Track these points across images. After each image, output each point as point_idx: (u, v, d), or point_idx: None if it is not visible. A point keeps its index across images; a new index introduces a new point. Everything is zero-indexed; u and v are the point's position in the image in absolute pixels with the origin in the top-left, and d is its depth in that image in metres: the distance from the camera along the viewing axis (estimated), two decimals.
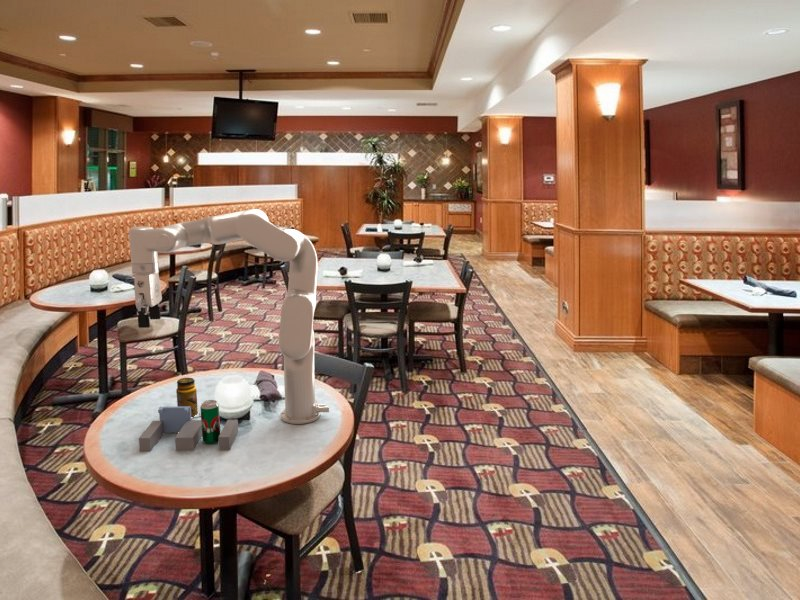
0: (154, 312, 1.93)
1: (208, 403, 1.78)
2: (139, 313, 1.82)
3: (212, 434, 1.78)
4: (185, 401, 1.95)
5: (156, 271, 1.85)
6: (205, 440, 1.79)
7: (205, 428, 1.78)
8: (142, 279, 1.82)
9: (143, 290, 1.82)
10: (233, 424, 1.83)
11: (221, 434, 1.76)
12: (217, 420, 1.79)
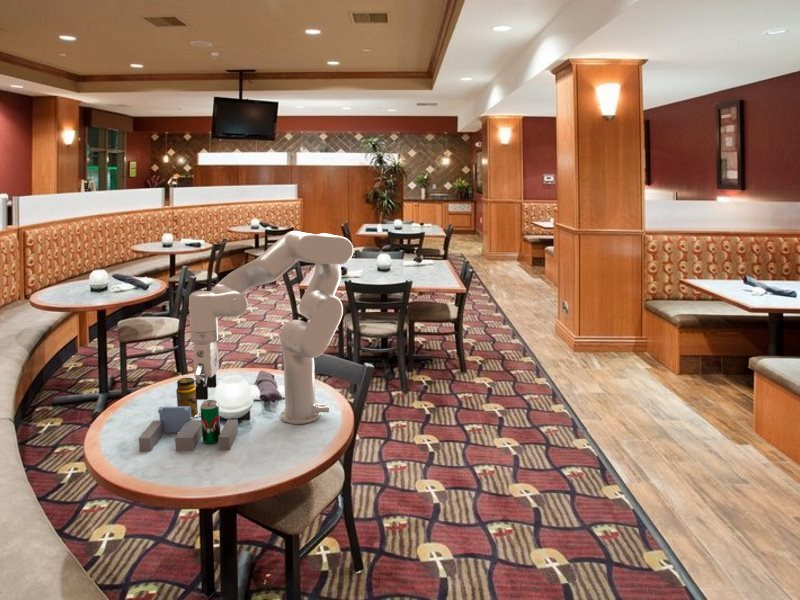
0: (210, 380, 1.81)
1: (208, 403, 1.78)
2: (198, 385, 1.70)
3: (212, 434, 1.78)
4: (185, 401, 1.95)
5: (216, 339, 1.73)
6: (205, 440, 1.79)
7: (205, 428, 1.78)
8: (202, 349, 1.70)
9: (203, 360, 1.70)
10: (233, 424, 1.83)
11: (221, 434, 1.76)
12: (217, 420, 1.79)
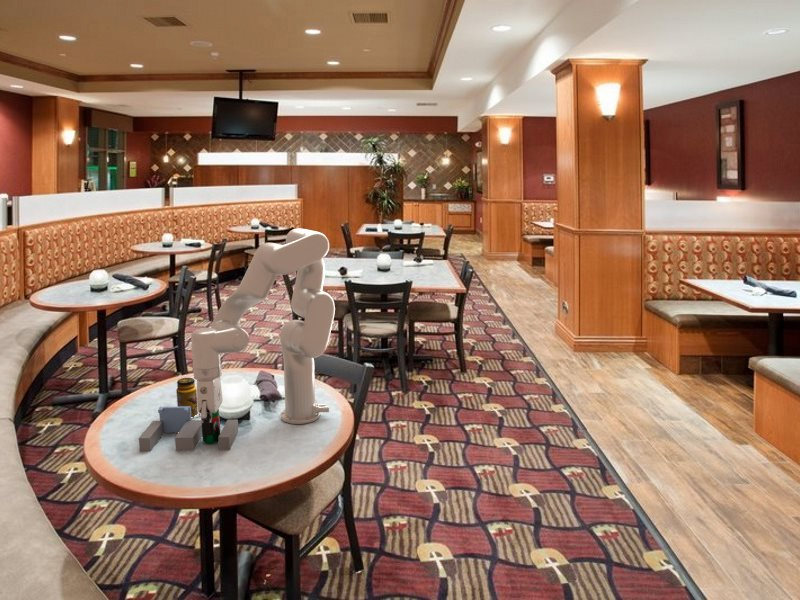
0: None
1: None
2: (204, 422, 1.75)
3: None
4: (186, 401, 1.95)
5: (219, 375, 1.76)
6: (205, 440, 1.79)
7: None
8: (205, 385, 1.72)
9: (206, 397, 1.73)
10: (233, 424, 1.83)
11: (221, 434, 1.76)
12: (217, 420, 1.79)
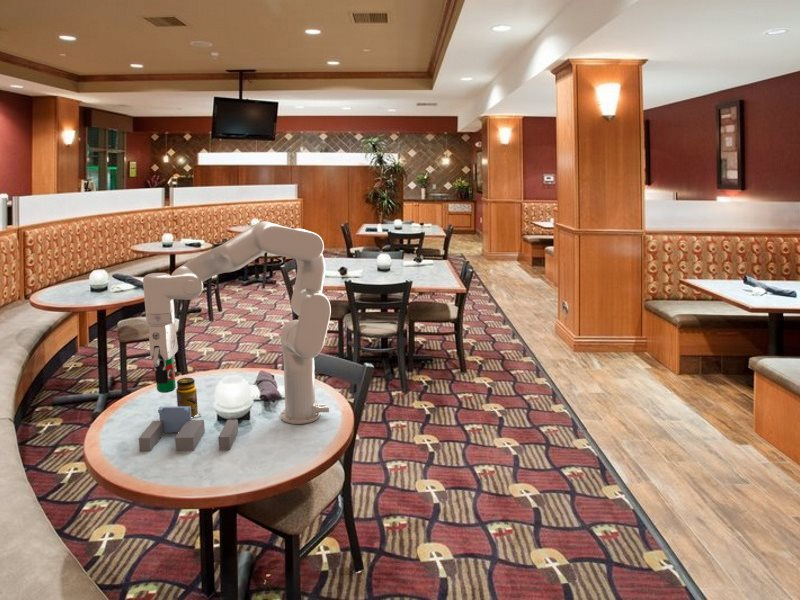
0: None
1: None
2: (157, 369, 1.71)
3: None
4: (185, 401, 1.95)
5: (172, 321, 1.72)
6: (159, 389, 1.75)
7: None
8: (157, 331, 1.68)
9: (159, 343, 1.69)
10: (233, 424, 1.83)
11: (221, 434, 1.76)
12: (171, 368, 1.75)
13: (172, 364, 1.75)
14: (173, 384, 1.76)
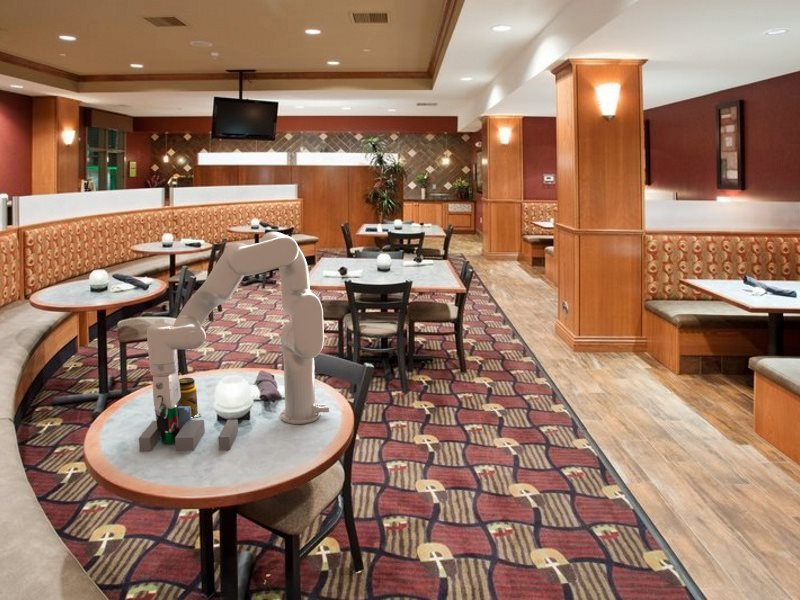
0: None
1: None
2: (158, 417, 1.72)
3: (170, 435, 1.78)
4: (185, 401, 1.95)
5: (175, 370, 1.75)
6: (163, 441, 1.78)
7: None
8: (161, 381, 1.71)
9: (162, 392, 1.72)
10: (233, 424, 1.83)
11: (221, 434, 1.76)
12: (175, 420, 1.78)
13: (176, 416, 1.78)
14: None
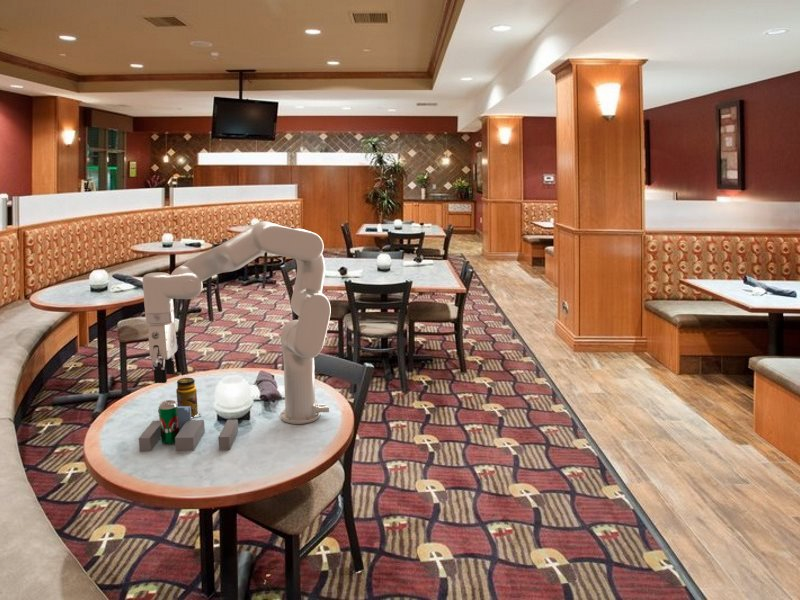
0: (168, 367, 1.79)
1: (166, 403, 1.77)
2: (155, 368, 1.70)
3: (170, 435, 1.78)
4: (185, 401, 1.95)
5: (172, 321, 1.72)
6: (163, 441, 1.78)
7: (163, 428, 1.77)
8: (157, 330, 1.68)
9: (158, 342, 1.69)
10: (233, 424, 1.83)
11: (221, 434, 1.76)
12: (175, 420, 1.78)
13: (176, 416, 1.78)
14: None
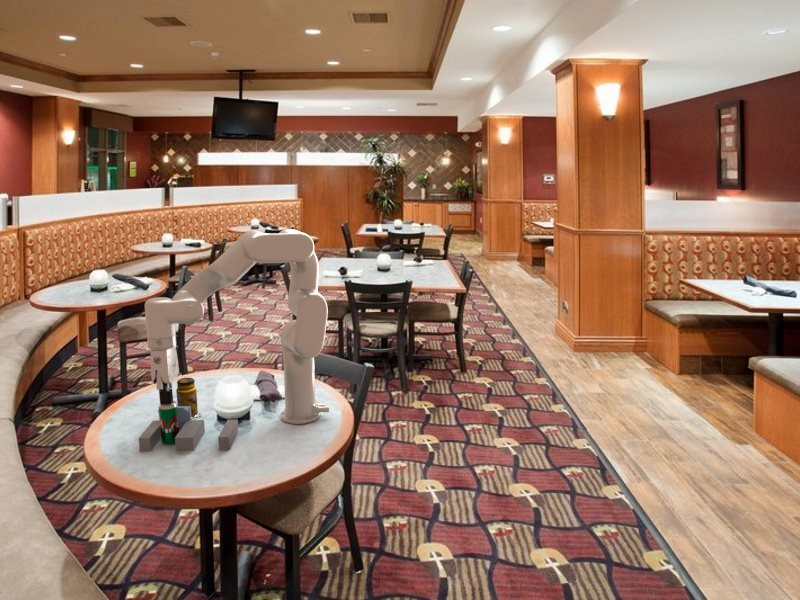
0: None
1: None
2: (161, 390, 1.75)
3: (170, 435, 1.78)
4: (185, 401, 1.95)
5: (173, 345, 1.73)
6: (163, 441, 1.78)
7: (163, 428, 1.77)
8: (159, 355, 1.70)
9: (160, 367, 1.70)
10: (233, 424, 1.83)
11: (221, 434, 1.76)
12: (175, 420, 1.78)
13: (176, 416, 1.78)
14: None
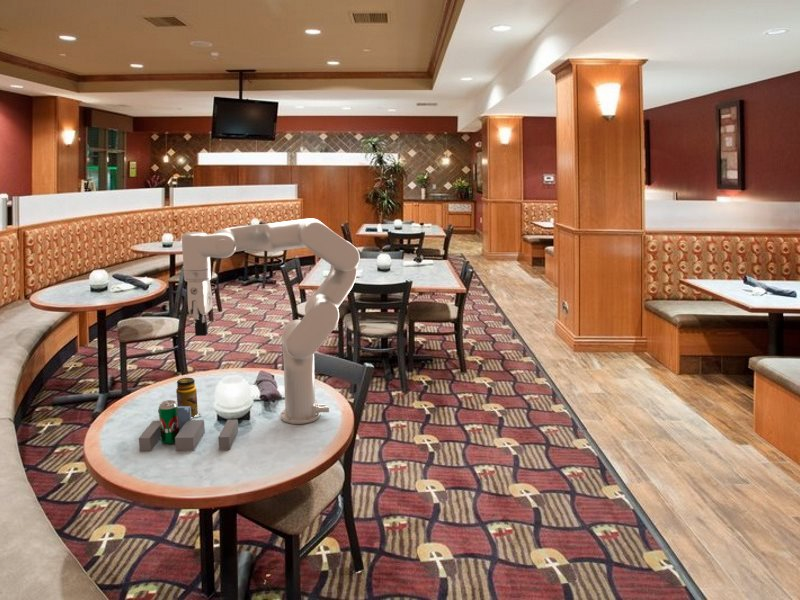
0: None
1: (166, 403, 1.77)
2: (197, 321, 1.82)
3: (170, 435, 1.78)
4: (185, 401, 1.95)
5: (209, 278, 1.80)
6: (163, 441, 1.78)
7: (163, 428, 1.77)
8: (195, 286, 1.77)
9: (196, 297, 1.78)
10: (233, 424, 1.83)
11: (221, 434, 1.76)
12: (175, 420, 1.78)
13: (176, 416, 1.78)
14: None
